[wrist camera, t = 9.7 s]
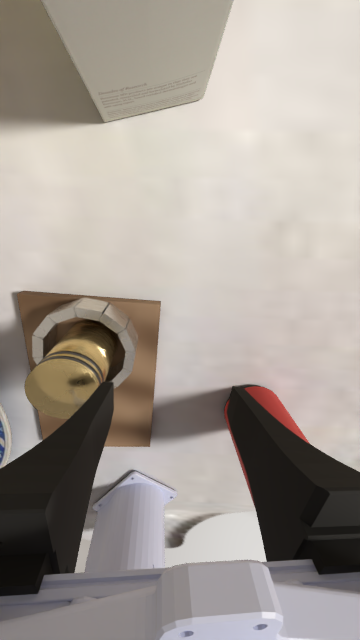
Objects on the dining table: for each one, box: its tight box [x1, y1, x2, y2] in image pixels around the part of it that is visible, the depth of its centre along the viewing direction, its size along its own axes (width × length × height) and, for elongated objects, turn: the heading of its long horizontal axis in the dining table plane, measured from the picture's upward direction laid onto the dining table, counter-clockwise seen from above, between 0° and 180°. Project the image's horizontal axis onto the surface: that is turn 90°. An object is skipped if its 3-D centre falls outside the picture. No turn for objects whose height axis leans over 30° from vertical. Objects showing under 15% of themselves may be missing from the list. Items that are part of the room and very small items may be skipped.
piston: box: [25, 319, 118, 419], centre depth 17 cm, size 5×5×7 cm
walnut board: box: [17, 291, 161, 447], centre depth 23 cm, size 18×12×1 cm, turn 174°
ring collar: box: [32, 298, 138, 388], centre depth 19 cm, size 8×8×2 cm
